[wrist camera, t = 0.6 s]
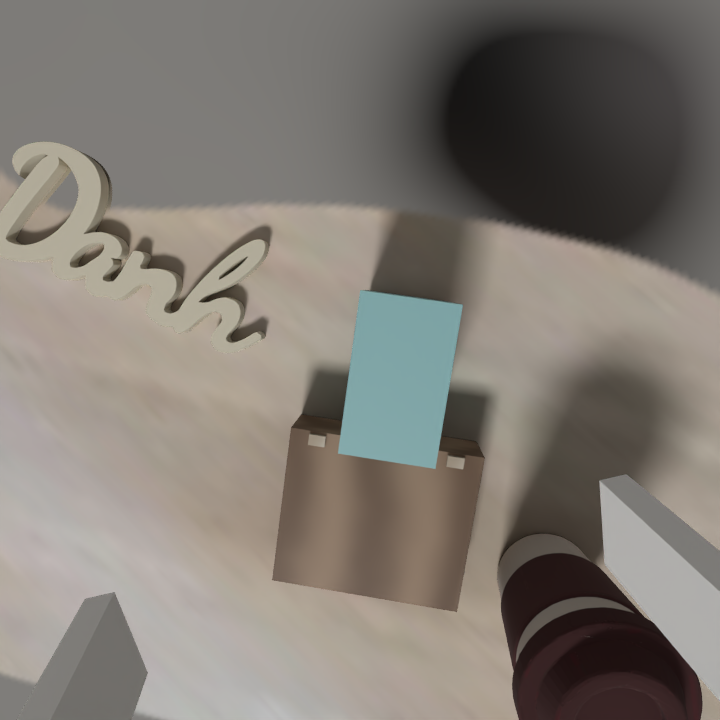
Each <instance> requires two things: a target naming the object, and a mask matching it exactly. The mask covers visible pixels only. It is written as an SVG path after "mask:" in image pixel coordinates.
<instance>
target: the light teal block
mask: <svg viewBox="0 0 720 720" xmlns="http://www.w3.org/2000/svg"><path fill="white" fill-rule="evenodd" d="M462 307H463V305H462V304H457V303H452V302H448V301H441V300H433V299H426V298H419V297H412V296H405V295H398V294H391V293H384V292H377V291H370V290H360V297H359V305H358V312H357V319H356V326H355V333H354V341H353V348H352V355H351V362H350V370H349V377H348V384H347V391H346V399H345V406H344V413H343V420H342V428H341V435H340V442H339V449H338V454H344V455H351V456H357V457H363V458H369V459H376V460H382V461H388V462H395V463H401V464H407V465H414V466H420V467H426V468H433V469H436V463H437V457H438V451H439V445H440V439H441V433H442V427H443V421H444V415H445V409H446V403H447V397H448V391H449V385H450V379H451V373H452V367H453V361H454V355H455V349H456V343H457V337H458V331H459V325H460V319H461V313H462Z"/></svg>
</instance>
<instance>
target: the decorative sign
mask: <svg viewBox="0 0 720 720" xmlns="http://www.w3.org/2000/svg"><path fill="white" fill-rule="evenodd" d="M12 163H13V166H14V168H15V170H16V172H17V173H18V174H19V176H21V177H23V178H24V179H25V180H24V182H23V183H22V184H21V185H20V187H19V188H18V189H17V191H16V192H15V193H14V195H13V196H12V197H11V199H10V200H9V201H8V203H7V204H6V205H5V207H4V208H3V209H2V211H1V212H0V257H2V258H5V259H8V260H13V261H21V262H46V261H51V260H53V261H52V271H53V273H54V274H55V275H56V277H58V278H59V279H62V280H71V281H78V280H82V279H85V286H86V290H87V291H88V293H90V294H91V295H93V296H95V297H110V298H111V299H112V300H114V301H117V300H126V299H128V298H129V297H131V296H132V295H133V294H135V293H136V292H137V291H138V290H139V289H141V288H142V287H143V286H145V285H149V286H150V287H151V289H152V292H151V296H150V298H149V301H148V303H147V306H146V314H147V316H148V317H149V318H150V319H151V320H153V321H154V322H155V323H157V324H158V325H160V326H163V327H173V329H174V331H175V332H176V333H178V334H180V333H185V332H188V331H190V330H192V329H193V328H194V327H195V326H197V325H198V324H199V323H200V322H201V321H202V320H203V319H205V318H206V317H208V316H209V315H211V314H212V313H214V312H217V313H220V314H221V316H222V321H221V323H220V325H219V326H218V327H217V328H216V329H215V331H214V332H213V334H212V336H211V344H212V346H213V348H214V349H215V350H217V351H218V352H221V353H234V352H238V351H241V350H243V349H246V348H248V347H250V346H252V345H254V344H256V343H257V342H259V341H261V340H263V339H264V338H265V334H264V333H263V332H262V331H259V332H255V333H253V334H251V335H250V336H248V337H246V338H245V339H242V340H240V341H237V342H235V341H233V340H231V335H232V333H233V332H234V331H235V330H236V329H237V328H238V327H239V326H240V324H241V323H242V321H243V319H244V315H245V309H244V306H243V304H242V303H241V302H240V301H239V300H237V299H234V298H229V297H228V298H218V299H215V300H212V301H210V302H204V301H205V300H206V299H207V298H208V297H209V296H211V295H213V294H216V293H219V292H221V291H224V290H226V289H228V288H230V287H232V286H234V285H236V284H238V283H239V282H241V281H242V280H244V279H245V278H246V277H248V276H249V275H250V274H251V273H253V272H254V271H255V270H256V269H257V268H258V267H259V266H260V265H261V264H262V262H263V261H264V260H265V258H266V257H267V254H268V251H269V245H268V243H267V242H266V241H264V240H261V239H257V240H253V241H251V242H248V243H246V244H245V245H243V246H241V247H240V248H238V249H237V250H235V251H234V252H233V253H231V254H230V255H229V256H227V257H226V258H225V259H224V260H222V261H221V262H220V263H219V264H218V265H217V266H216V267H215V268H213V269H212V270H211V271H210V272H209V273H208V274H207V275H206V276H205V277H204V278H203V279H202V280H201V281H200V282H199V284H198V285H197V286H196V287H195V288H194V289H193V290H192V292H191V293H190V294H189V295H188V297H187V298H186V299H185V301H184V302H183V304H182V305H181V307H180V309H179V310H178V311H176V312H172V311H171V305H172V303H173V302H174V301H175V300H176V299H177V298H178V296H179V295H180V293H181V291H182V287H183V282H182V279H181V277H180V276H179V275H178V274H177V273H175V272H173V271H170V270H166V269H156V268H155V269H147V265H148V264H149V262H150V260H151V255H150V254H149V253H147V252H141V251H133V252H132V254H131V255H130V257H129V259H128V260H127V262H126V264H125V266H124V267H123V269H122V271H121V272H120V274H119V275H118V276H117V278H116V279H115V280H114V281H112V280H111V276H112V275H113V274H114V273H115V272H116V271H117V270H118V269H119V267H120V266H121V261H120V260H119V259H126V258H127V257H128V255H129V247H128V245H127V243H126V242H125V241H124V240H123V239H122V238H120V237H118V236H116V235H113V234H108V233H103V232H95V231H96V229H97V228H98V226H99V225H100V223H101V221H102V219H103V216H104V214H105V211H106V210H109V209H110V207H111V202H112V184H111V180H110V177H109V175H108V173H107V171H106V170H105V168H104V167H103V166H102V165H101V164H100V163H99V162H98V161H96V160H95V159H93V158H92V157H90V156H88V155H86V154H84V153H82V152H80V151H78V150H75V149H73V148H71V147H68V146H66V145H62V144H59V143H55V142H34V143H30V144H27V145H25V146H23V147H21V148H20V149H18V150H17V152H15V154H14V156H13V159H12ZM71 170H72V171H73V173H74V175H75V178H76V180H77V183H78V187H79V194H78V199H77V203H76V205H75V208H74V210H73V212H72V213H71V215H70V217H69V218H68V219H67V221H66V222H65V223H64V224H63V225H62V226H61V227H60V228H59V229H58V230H57V231H56V232H55V233H53V234H52V235H51V236H49V237H47V238H46V239H44V240H42V241H39V242H37V243H34V244H29V245H23V244H20V243H18V242H17V241H16V238H17V236H18V234H19V232H20V231H21V229H22V228H23V226H24V225H25V223H26V222H27V221H28V219H29V218H30V216H31V215H32V214H33V212H34V211H35V210H36V208H37V207H38V206H39V204H40V203H41V202H44V203H46V202H47V201H48V199H49V198H50V197H51V196H52V194H53V193H54V192H55V191H56V189H57V188H58V187H59V186H60V185H61V184H62V182H63V181H64V180H65V179H66V177H67V176H68V175H69V173H70V172H71ZM102 244H104V250H103V252H102V253H101V254H100V255H99V256H98V257H96V258H95V259H93V260H92V261H90V262H89V263H87V264H86V265H84V266H82V267H79V261H80V259H81V258H82V256H83V255H84V254H85V253H86V252H87V251H89V250H90V249H92V248H93V247H95V246H98V245H102ZM243 261H244V262H243ZM242 262H243V263H242ZM240 263H242V264H241V265H240V266H239V267H238V268H237V269H235V270H234V271H233V272H231V273H230V274H228V273H229V272H230V271H231V270H233V269H234V268H235V267H236V266H238V265H239V264H240ZM227 274H228V275H227ZM226 275H227V276H226Z"/></svg>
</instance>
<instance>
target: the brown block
mask: <svg viewBox="0 0 720 720" xmlns="http://www.w3.org/2000/svg"><path fill="white" fill-rule="evenodd" d="M341 428H342V421H340V420H334V419H327V418H321V417H314V416H308V415H301V416H300V417H299V418H298V420H297V421H296V422H295V423H294V425H293V426H292V427H291V433H290V441H289V449H288V458H287V466H286V474H285V482H284V490H283V498H282V506H281V514H280V522H279V530H278V538H277V546H276V555H275V563H274V571H273V579H272V580H275V581H281V582H286V583H292V584H298V585H304V586H310V587H315V588H321V589H327V590H333V591H339V592H344V593H350V594H356V595H362V596H368V597H374V598H379V599H385V600H391V601H397V602H403V603H408V604H414V605H420V606H426V607H432V608H437V609H443V610H449V611H455V612H457V608H458V603H459V597H460V592H461V586H462V581H463V575H464V570H465V564H466V559H467V553H468V548H469V542H470V536H471V531H472V525H473V520H474V514H475V509H476V503H477V498H478V492H479V487H480V481H481V476H482V470H483V465H484V459H485V457H484V456H483V454H482V452H481V450H480V448H479V446H478V444H477V442H476V441H469V440H463V439H457V438H450V437H444V436H441V439H440V445H439V451H438V457H437V463H436V469H433V468H426V467H420V466H414V465H407V464H401V463H395V462H388V461H382V460H376V459H369V458H363V457H357V456H351V455H344V454H338V449H339V442H340V435H341Z"/></svg>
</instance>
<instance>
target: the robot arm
mask: <svg viewBox="0 0 720 720" xmlns="http://www.w3.org/2000/svg"><path fill="white" fill-rule="evenodd" d="M599 483H600V499H601V515H602V531H603V547H604V563H605V565H606V567H607V568H608V569H609V570H610V571H611V572H612V574H613V575H614V576H615V577H616V578H617V580H618V581H619V582H620V583H621V584H622V586H623V587H624V588H625V589H626V590H627V592H628V593H629V594H630V595H631V596H632V597H633V599H634V600H635V601H636V602H637V603H638V605H639V606H640V607H641V608H642V609H643V611H644V612H645V613H646V614H647V615H648V617H649V618H650V619H651V620H652V621H653V622H654V624H655V625H656V626H657V627H658V628H659V630H660V631H661V632H662V633H663V634H664V636H665V637H666V638H667V639H668V640H669V642H670V643H671V644H672V645H673V646H674V648H675V649H676V650H677V651H678V652H679V653H680V655H681V656H682V657H683V658H684V659H685V661H686V662H687V663H688V664H689V665H690V667H691V668H692V669H693V670H694V671H695V673H696V674H697V675H698V676H699V677H700V678H701V680H702V681H703V682H704V683H705V684H706V686H707V687H708V688H709V689H710V690H711V692H712V693H713V694H714V695H715V696H716V698H717V699H718V700H719V701H720V551H719V550H718V549H716V548H715V547H714V546H713V545H712V544H710V543H709V542H708V541H707V540H706V539H704V538H703V537H702V536H701V535H700V534H698V533H697V532H696V531H695V530H693V529H692V528H691V527H690V526H689V525H687V524H686V523H685V522H684V521H683V520H681V519H680V518H679V517H678V516H677V515H675V514H674V513H673V512H672V511H671V510H669V509H668V508H667V507H666V506H664V505H663V504H662V503H661V502H660V501H658V500H657V499H656V498H655V497H654V496H652V495H651V494H650V493H649V492H648V491H646V490H645V489H644V488H643V487H642V486H640V485H639V484H638V483H637V482H635V481H634V480H633V479H632V478H631V477H629V476H628V475H627V474H625V475H621V476H616V477H612V478H608V479H603V480H599ZM147 673H148V672H147V670H146V667H145V665H144V662H143V660H142V658H141V655H140V653H139V650H138V648H137V646H136V643H135V641H134V638H133V636H132V633H131V631H130V629H129V626H128V624H127V621H126V619H125V616H124V614H123V612H122V609H121V607H120V604H119V602H118V600H117V597H116V595H115V592H113V593H109V594H104V595H100V596H96V597H91V598H87V599H85V600H84V602H83V603H82V605H81V607H80V609H79V610H78V612H77V614H76V616H75V617H74V619H73V621H72V623H71V624H70V626H69V628H68V630H67V632H66V633H65V635H64V637H63V639H62V640H61V642H60V644H59V646H58V647H57V649H56V651H55V653H54V654H53V656H52V658H51V660H50V661H49V663H48V665H47V667H46V668H45V670H44V672H43V674H42V675H41V677H40V679H39V681H38V682H37V684H36V686H35V688H34V690H33V691H32V693H31V695H30V697H29V698H28V701H27V702H26V704H25V705H24V707H23V709H22V711H21V712H20V714H19V716H18V718H17V720H132V717H133V714H134V711H135V708H136V705H137V702H138V700H139V697H140V694H141V691H142V688H143V685H144V682H145V679H146V676H147Z"/></svg>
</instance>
